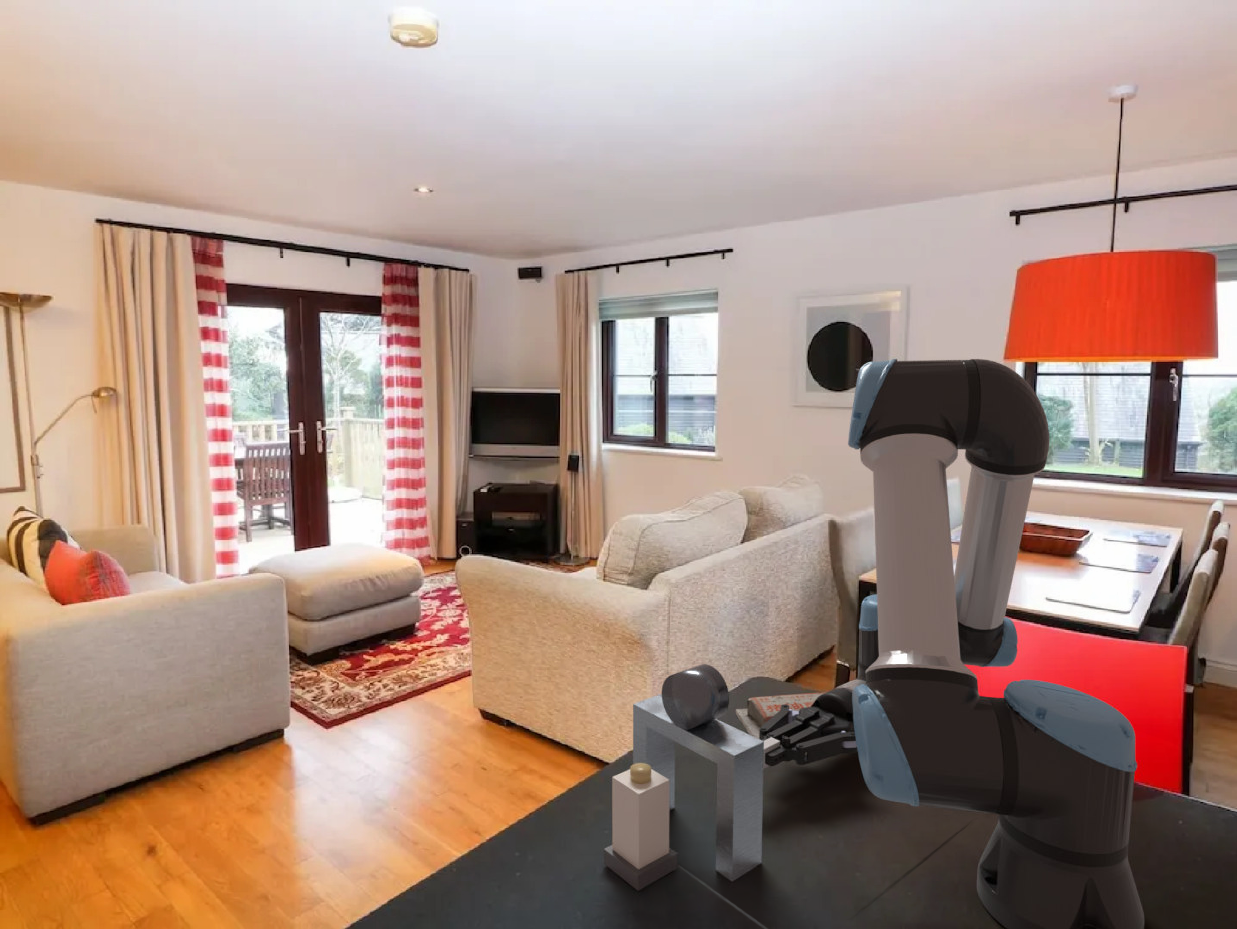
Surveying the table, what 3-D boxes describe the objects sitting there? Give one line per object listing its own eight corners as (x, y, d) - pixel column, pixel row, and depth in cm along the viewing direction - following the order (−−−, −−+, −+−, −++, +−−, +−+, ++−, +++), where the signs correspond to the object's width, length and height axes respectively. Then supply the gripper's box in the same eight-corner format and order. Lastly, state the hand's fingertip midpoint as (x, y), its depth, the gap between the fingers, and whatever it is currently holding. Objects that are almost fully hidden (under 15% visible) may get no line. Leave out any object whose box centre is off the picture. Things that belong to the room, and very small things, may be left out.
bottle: (677, 867, 84) (678, 770, 83) (638, 890, 80) (638, 788, 79) (642, 842, 89) (643, 749, 87) (603, 863, 85) (603, 766, 84)
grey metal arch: (761, 865, 85) (765, 687, 83) (732, 883, 82) (735, 699, 79) (661, 801, 98) (662, 646, 96) (633, 815, 95) (633, 655, 93)
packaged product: (835, 683, 126) (864, 708, 116) (834, 710, 127) (863, 737, 117) (735, 690, 123) (755, 716, 113) (734, 718, 124) (755, 746, 114)
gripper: (886, 752, 105) (784, 814, 90) (810, 721, 115) (706, 772, 100) (888, 702, 104) (785, 756, 89) (811, 675, 114) (707, 719, 99)
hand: (744, 764), depth 95 cm, fingers closed
